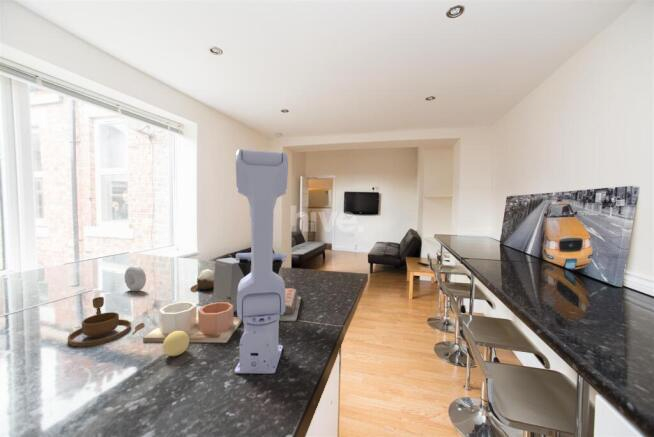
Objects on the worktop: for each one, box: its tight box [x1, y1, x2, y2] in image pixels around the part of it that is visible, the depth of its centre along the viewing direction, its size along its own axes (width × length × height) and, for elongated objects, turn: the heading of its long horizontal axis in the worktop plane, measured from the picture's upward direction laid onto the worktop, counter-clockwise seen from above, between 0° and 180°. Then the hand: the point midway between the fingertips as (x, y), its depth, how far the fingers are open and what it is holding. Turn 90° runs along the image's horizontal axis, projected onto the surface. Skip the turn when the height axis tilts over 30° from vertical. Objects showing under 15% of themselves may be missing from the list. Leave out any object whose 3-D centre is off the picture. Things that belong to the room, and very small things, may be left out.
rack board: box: [142, 315, 243, 344], centre depth 66 cm, size 12×20×1 cm, turn 90°
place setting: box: [67, 296, 145, 347], centre depth 67 cm, size 18×20×6 cm
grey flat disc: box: [124, 264, 147, 292], centre depth 96 cm, size 10×3×10 cm, turn 66°
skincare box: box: [212, 257, 244, 313], centre depth 81 cm, size 8×7×16 cm
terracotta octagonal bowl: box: [197, 302, 234, 334], centre depth 66 cm, size 8×8×5 cm
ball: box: [162, 331, 190, 357], centre depth 55 cm, size 5×5×5 cm
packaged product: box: [279, 287, 302, 322], centre depth 81 cm, size 18×5×10 cm
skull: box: [190, 268, 215, 293], centre depth 102 cm, size 12×10×10 cm
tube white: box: [158, 301, 197, 334], centre depth 66 cm, size 8×8×5 cm
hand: (261, 284), depth 74 cm, fingers open, 7 cm apart
